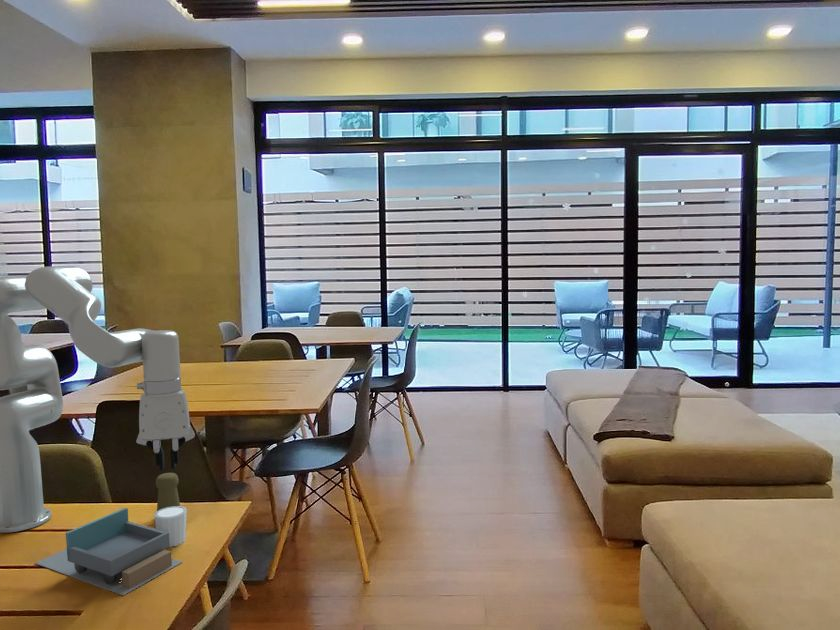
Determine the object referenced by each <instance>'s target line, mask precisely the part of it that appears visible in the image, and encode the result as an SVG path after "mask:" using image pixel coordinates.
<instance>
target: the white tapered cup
mask: <svg viewBox="0 0 840 630" xmlns="http://www.w3.org/2000/svg"><path fill="white" fill-rule="evenodd" d="M187 513H188V511H187V507H185V506H182V505H180V506H172V507H166V508H163V509H160V510H158V511H157V510H156V512H154V514H153V516H154V523H155V527H156V528H155V529H158V530H161V531H165V532H168V533H169V541H170V546H169V547H168V548H173V546H174V547H177V546H180V545H182V544H183V543H185V542H186V538H187V537H186V535H187Z"/></svg>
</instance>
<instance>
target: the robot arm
mask: <svg viewBox="0 0 840 630" xmlns="http://www.w3.org/2000/svg"><path fill="white" fill-rule="evenodd" d="M93 287H94V286H93V281H92V277H91V276H90V274H89V273H88V272H87V271H86V270H85V269H83V268H81V267H79V266H75V265H74V266H73V265H63V266H62V265H59V266H58V265H57V266H56V265H53V266H42V267H38V268H35V269H34V270H32V271H30V272H29V273H28V275H8V276H0V391H6V390H11V389H16V388H20V387H24V386H27V390H25V391H21V392H20V391H19V392H16V393H12V394H7V395H4V396H0V533H3V534H5V533H8V534H9V533H17V532H21V531H26V530H30V529H33V528H36V527H38V526H40V525H44V524H45V523H46V522H48V521H49V520H50V519H51V517H52V516H53V515H52V509H50V508H48V507H44V494H43V480H42V466H41V456H40V448H39V445H38V443H37V441H36V440H35V439H34V437H33V436H32V435H31V434H30V431H32V430H34V429H36V428H40V427H44V426H47V425H49V424H52V423H54V422H56V421H57V420H59V419H60V417H61V416H62V413H63V411H64V400H63V394H62V393H63V392H62V385H61V379H60V373H59V367H58V363H57V360H56V357H55V355H53V353H52V352H51V351H50V350H49V349H48V348H47V347H45V346H42V345H38V344H36V345H35V344H33V345H26V346H24V345H23V340H22V333H21V330H20V328H19V326H18V325H17V323H16V322H15V320H13V319H12V317H11V316H10V315H8V314H9V313H19V312H28V311H29V312H31V311H38V310H39V311H40V310H48V311H49V312H51V314H54V315H55V316H56V317H58V318H59V319H60V320H61V321H63V323H66V324H67V325H68V332H69V335H70V339H71V340H72V342H73V344H74V346H75V348H77V350H78V351H80V352H81V353H82V354H84V355H85V356H86V357H87V358H89V359H90V360H92V362H94V363H96V364H98V365H100V366H102V367H105V368H111V369H112V368H113V369H115V368H119V367H123V366H127V365H131V364H136V363H141V362H142V370H143V371H142V372H143V373H142V375H143V380H142V381H141V382H139V383H138V382H137V383H136V389H137V390H142V391H143V393H141V395H140V399H139V411H138V413H139V414H138V417H139V418H138V427H139V430H138V431H139V433H138V435H137V438H136V443H137V444H139V445H142V446H146V447H148V448H149V449H151V450H152V451H153V453H154V454H155V465H156V466H157V467H159V471H163V470H164V468H165V453H164V452H165V451H164V450H165V449H163V447H162V446H161V445H162V444H161V440H163V441H164V440H170V439H171V440H172V441H171V443H172V446H171V449H170V468H171V469H172V470H174V469H176V466H177V464H179V462H180V461H179V449H180V448H181V446H183V444H184V443H186V442H188V441H190V440H193V439H194V438H195V435H196V433H195V431H194V430H193V427H192V426H191V421H190V420H191V419H190V412H189V411H190V410H189V405H188V398H187V395H186V391H185V390H184V389H182V378H181V377H182V376H181V374H182V373H181V372H182V371H181V360H180V359H181V358H180V356H181V355H180V341H179V340H180V338H179V335H178V332H176V331H175V330H168V329H166V330H165V329H164V330H163V329H160V330H152V329H148V328H140V327H139V328H132V329H124V330H118V331H112V332H110V331H108V330H107V329H105V328H103V327H102V326H100V325H99V324H98V323H96V322H95V320H96V319H97V318H98V316H99V314H100V313H101V309H102V302H101V300H100V298H99V297H98V296H96V295H95V294H93V293H92V291H93Z"/></svg>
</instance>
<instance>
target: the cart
mask: <svg viewBox="0 0 840 630" xmlns="http://www.w3.org/2000/svg"><path fill="white" fill-rule="evenodd" d="M128 510H129V509H128V508H127V507H123V508H121V509H119V510H116V511H114V512H112V513H109V514H107V515H104V516H102V517H99V518H97V519H95V520H92V521H90V522H87V523H85V524H83V525H80V526H78V527H76V528H74V529H71V530H68V531H66V532H65V541H66V542H65V544H66V549H67V559H68V561H69V562H72V563H75V564H74V566H75V570H76V571H77V572H78V573H82V572H85V571H86V570H87V568H89V569H92V570H95V571H98V572H101V573H103V577H104V580H105V582H106V583H108V584H110V583H112V582H114V581H116V579H117V575H116V574H117V573H119V572H121V571H123V570H125V569H127V568H129V567H131V566H133V565H135V564H137V563H139V562H140V561H142V560H144V559H146V558H148V557H150V556H152V555H155V554H157V553H159V552H161V551H163V550H167V548H170V547H169V546H170V541H169V533H168V532H165V531H161V530H158V529H156V528H153V527H150V526H146V525H144V524H140V523H135V522H132V521H129V511H128Z"/></svg>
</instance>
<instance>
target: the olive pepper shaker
mask: <svg viewBox="0 0 840 630" xmlns="http://www.w3.org/2000/svg"><path fill="white" fill-rule="evenodd" d="M178 485H179V477H178V475H177V474H176V473H175V472H165V473H162V474H159V475H158V476H157V477H156V479H155V486H156V488H157V489H158V492H157V502H156V503H157V506H156V512H157V511H158V510H160V509H163V508H166V507H172V506H181V503H180V498H179V492H178Z"/></svg>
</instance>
